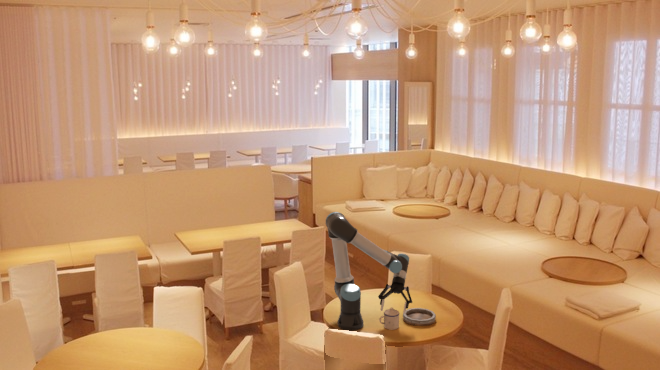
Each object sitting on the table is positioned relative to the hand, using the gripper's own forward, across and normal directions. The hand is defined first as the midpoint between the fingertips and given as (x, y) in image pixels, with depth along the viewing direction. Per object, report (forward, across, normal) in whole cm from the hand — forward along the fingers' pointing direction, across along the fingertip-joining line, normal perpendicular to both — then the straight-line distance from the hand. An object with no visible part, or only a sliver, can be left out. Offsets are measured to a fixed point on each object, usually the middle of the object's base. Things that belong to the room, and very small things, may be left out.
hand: (392, 311), depth 373 cm
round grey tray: (-4, -13, -16) cm, 21 cm away
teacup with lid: (+8, +1, -4) cm, 9 cm away
